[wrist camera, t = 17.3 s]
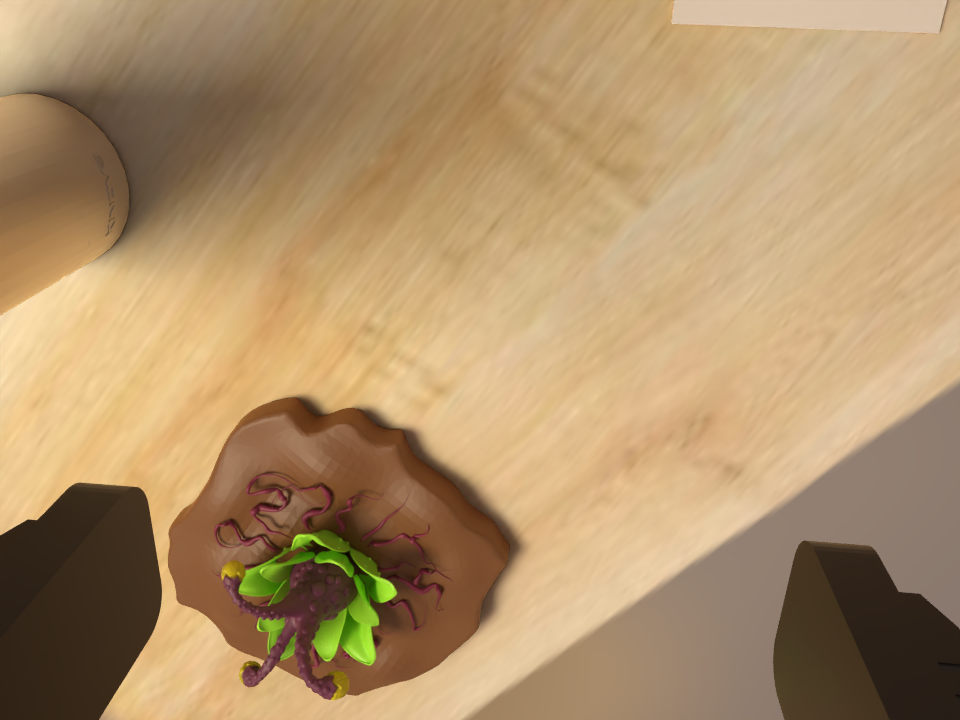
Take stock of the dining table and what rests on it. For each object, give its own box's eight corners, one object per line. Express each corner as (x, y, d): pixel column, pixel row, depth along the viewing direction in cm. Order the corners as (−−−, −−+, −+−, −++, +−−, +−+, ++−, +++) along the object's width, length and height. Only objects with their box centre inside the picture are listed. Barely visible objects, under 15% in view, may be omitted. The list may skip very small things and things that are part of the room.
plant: (385, 707, 59) (349, 858, 49) (142, 567, 56) (49, 697, 46) (556, 526, 51) (555, 660, 41) (286, 351, 48) (212, 449, 38)
